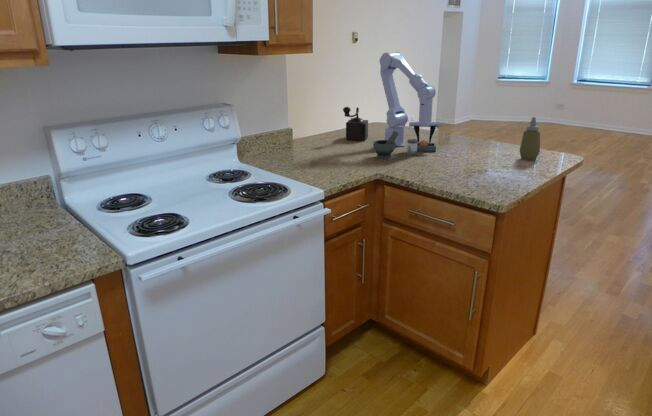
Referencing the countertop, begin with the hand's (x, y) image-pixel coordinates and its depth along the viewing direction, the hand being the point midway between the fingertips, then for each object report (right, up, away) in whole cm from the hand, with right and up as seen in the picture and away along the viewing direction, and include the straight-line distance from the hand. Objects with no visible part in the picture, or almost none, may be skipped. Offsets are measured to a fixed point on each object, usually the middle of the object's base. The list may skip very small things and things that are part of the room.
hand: (424, 142), depth 221 cm
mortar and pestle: (-20, -9, -11) cm, 24 cm away
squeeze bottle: (+41, -10, -20) cm, 47 cm away
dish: (0, -3, +1) cm, 4 cm away
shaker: (-7, -7, -8) cm, 13 cm away
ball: (0, -3, +1) cm, 3 cm away
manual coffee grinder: (-31, +4, +25) cm, 40 cm away
